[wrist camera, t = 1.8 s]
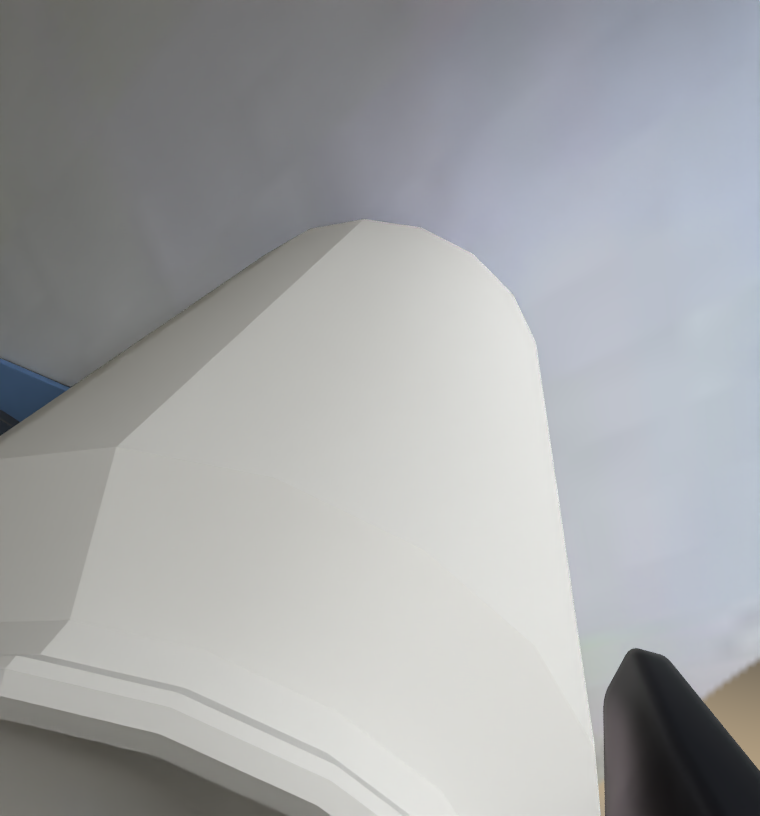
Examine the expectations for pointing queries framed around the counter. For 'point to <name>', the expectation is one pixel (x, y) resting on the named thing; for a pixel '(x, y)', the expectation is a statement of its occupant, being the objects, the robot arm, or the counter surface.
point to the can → (298, 557)
